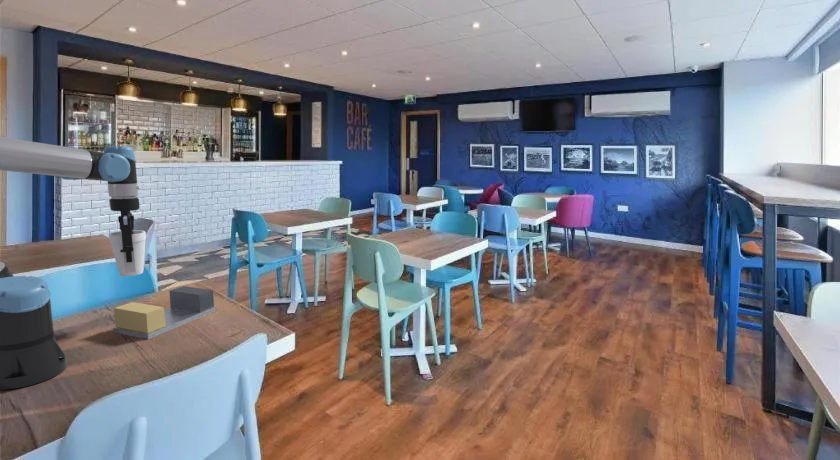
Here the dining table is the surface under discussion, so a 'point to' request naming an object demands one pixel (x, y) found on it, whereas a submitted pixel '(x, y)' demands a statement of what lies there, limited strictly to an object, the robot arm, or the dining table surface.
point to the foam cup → (138, 247)
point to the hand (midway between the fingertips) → (131, 268)
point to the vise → (179, 310)
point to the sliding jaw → (139, 317)
